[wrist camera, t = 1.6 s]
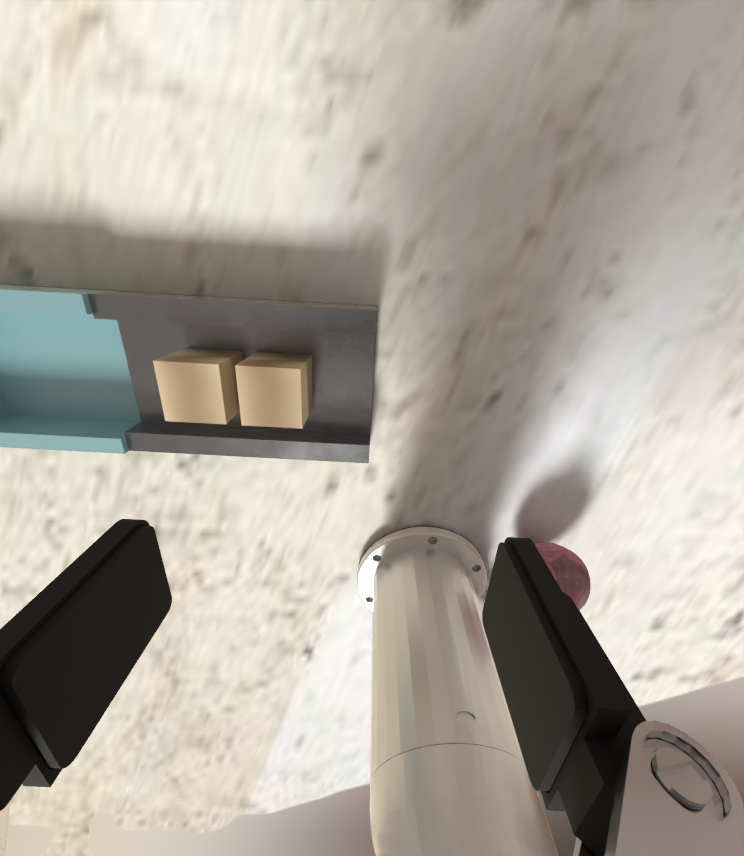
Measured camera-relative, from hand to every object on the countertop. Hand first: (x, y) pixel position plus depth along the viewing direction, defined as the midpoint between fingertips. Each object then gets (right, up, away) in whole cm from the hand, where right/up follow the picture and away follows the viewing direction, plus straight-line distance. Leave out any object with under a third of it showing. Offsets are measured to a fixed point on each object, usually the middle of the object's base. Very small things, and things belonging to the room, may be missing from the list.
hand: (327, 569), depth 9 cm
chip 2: (-5, +7, +16) cm, 18 cm away
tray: (-23, +9, +17) cm, 30 cm away
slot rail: (-8, +8, +17) cm, 20 cm away
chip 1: (-10, +8, +16) cm, 20 cm away
